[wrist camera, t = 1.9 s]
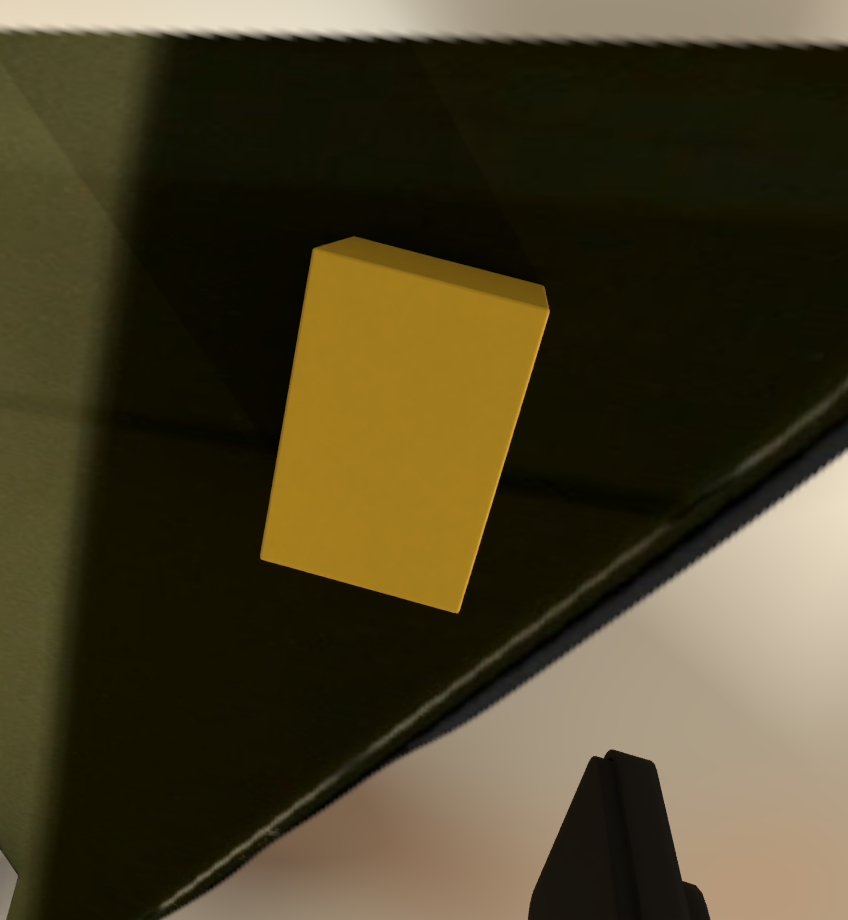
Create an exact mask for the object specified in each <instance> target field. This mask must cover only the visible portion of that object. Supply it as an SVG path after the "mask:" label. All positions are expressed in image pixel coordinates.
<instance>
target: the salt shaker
mask: <svg viewBox="0 0 848 920" xmlns="http://www.w3.org/2000/svg"><path fill="white" fill-rule="evenodd" d="M17 878H18V875H17V873H16V872H15V870H14V869H13V868H12V866H11V865H10V863H9V862H8V860H7V859H6V857H5V856H4V854H3V853H2V851H1V850H0V920H6V918H7V914H8V910H9V907H10V903H11V899H12V896H13V892H14V888H15V885H16V881H17Z"/></svg>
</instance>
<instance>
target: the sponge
mask: <svg viewBox="0 0 848 920" xmlns="http://www.w3.org/2000/svg"><path fill="white" fill-rule="evenodd" d="M549 313H550V312H549V306H548V302H547V297H546V292H545V288H544V286H543V285H539V284H535V283H531V282H528V281H524V280H520V279H516V278H512V277H508V276H505V275H501V274H497V273H493V272H489V271H485V270H481V269H478V268H474V267H470V266H466V265H462V264H458V263H455V262H451V261H447V260H443V259H439V258H435V257H431V256H428V255H424V254H420V253H416V252H412V251H408V250H405V249H401V248H397V247H393V246H389V245H385V244H382V243H378V242H374V241H370V240H366V239H362V238H358V237H355V236H354V237H350V238H347V239H343V240H340V241H337V242H333V243H330V244H326V245H323V246H320V247H316V248H314V249H313V250H312V256H311V262H310V268H309V274H308V279H307V285H306V291H305V297H304V303H303V309H302V314H301V320H300V326H299V332H298V338H297V344H296V349H295V355H294V361H293V367H292V373H291V379H290V384H289V390H288V396H287V402H286V408H285V414H284V419H283V425H282V431H281V437H280V443H279V449H278V454H277V460H276V466H275V472H274V478H273V484H272V489H271V495H270V501H269V507H268V513H267V519H266V524H265V530H264V536H263V542H262V548H261V554H260V558H261V559H262V560H266V561H269V562H273V563H276V564H280V565H284V566H287V567H291V568H295V569H298V570H302V571H305V572H309V573H313V574H316V575H320V576H323V577H327V578H331V579H334V580H338V581H342V582H345V583H349V584H352V585H356V586H360V587H363V588H367V589H370V590H374V591H378V592H381V593H385V594H389V595H392V596H396V597H399V598H403V599H407V600H410V601H414V602H417V603H421V604H425V605H428V606H432V607H436V608H439V609H443V610H446V611H450V612H454V613H458V612H459V611H460V607H461V604H462V601H463V597H464V594H465V591H466V587H467V584H468V581H469V577H470V574H471V571H472V567H473V564H474V561H475V558H476V554H477V551H478V548H479V544H480V541H481V538H482V534H483V531H484V528H485V524H486V521H487V518H488V515H489V511H490V508H491V505H492V501H493V498H494V495H495V491H496V488H497V485H498V481H499V478H500V475H501V472H502V468H503V465H504V462H505V458H506V455H507V452H508V448H509V445H510V442H511V438H512V435H513V432H514V428H515V425H516V422H517V419H518V415H519V412H520V409H521V405H522V402H523V399H524V395H525V392H526V389H527V385H528V382H529V379H530V376H531V372H532V369H533V366H534V362H535V359H536V356H537V352H538V349H539V346H540V342H541V339H542V336H543V332H544V329H545V326H546V323H547V319H548V316H549Z"/></svg>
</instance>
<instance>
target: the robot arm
mask: <svg viewBox="0 0 848 920" xmlns="http://www.w3.org/2000/svg"><path fill="white" fill-rule="evenodd" d="M528 920H710V917H709V913H708V909H707V905H706V903H705V900H704V897H703V894H702V892H701V891H700V890H699V889H698V888H697V886H696V885H693V884H690V883H687V882H684V881H682V878H681V874H680V870H679V865H678V861H677V857H676V852H675V848H674V843H673V839H672V835H671V830H670V826H669V822H668V817H667V813H666V808H665V804H664V800H663V795H662V791H661V787H660V782H659V778H658V774H657V770H656V767H655V764H654V763H653V762H652V761H650V760H646V759H643V758H639V757H636V756H633V755H629V754H626V753H623V752H619V751H616V750H609V751H608V752H607V753H606V755H605V757H604V759H603V758H600V757H597V756H593V757H592V758H591V759H590V761H589V763H588V765H587V768H586V770H585V772H584V775H583V777H582V779H581V782H580V784H579V786H578V788H577V791H576V793H575V795H574V798H573V800H572V803H571V805H570V807H569V809H568V812H567V815H566V817H565V819H564V821H563V823H562V826H561V828H560V831H559V833H558V835H557V837H556V840H555V842H554V844H553V847H552V849H551V851H550V854H549V856H548V858H547V861H546V863H545V865H544V868H543V870H542V872H541V875H540V877H539V879H538V882H537V884H536V886H535V889H534V891H533V894H532V898H531V902H530V908H529V915H528Z"/></svg>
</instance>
